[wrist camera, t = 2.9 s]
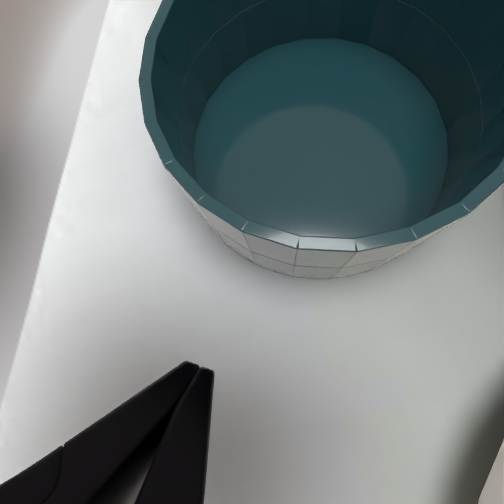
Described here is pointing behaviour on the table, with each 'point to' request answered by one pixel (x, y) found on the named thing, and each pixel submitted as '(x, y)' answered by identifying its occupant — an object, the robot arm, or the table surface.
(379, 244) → the bowl
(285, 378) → the table surface
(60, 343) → the table surface
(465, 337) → the table surface
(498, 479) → the plate
